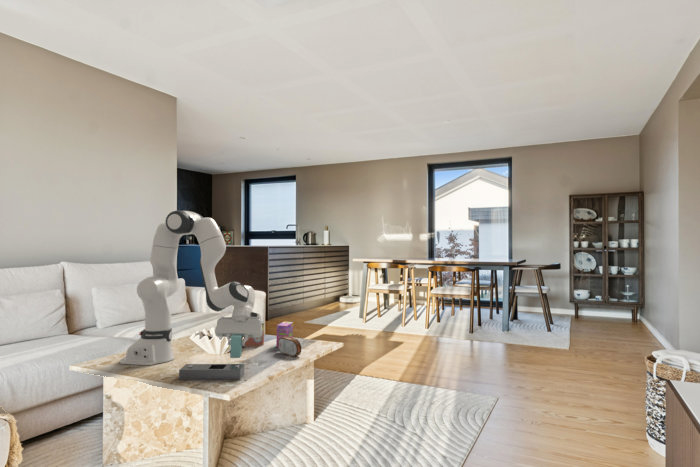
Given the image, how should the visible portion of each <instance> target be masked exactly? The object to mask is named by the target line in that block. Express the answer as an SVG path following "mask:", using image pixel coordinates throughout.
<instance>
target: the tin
mask: <svg viewBox="0 0 700 467" xmlns="http://www.w3.org/2000/svg"><path fill="white" fill-rule="evenodd" d="M278 347H279V348H278V349H279V351H280V353H281V354H283V355H286V356H289V357H297V356H300V355H301V353H302V345H301V342H300V341H299V339H297V338H294V337H293V338H291V337H287V336H284V337H281V338H280V339H279V341H278Z"/></svg>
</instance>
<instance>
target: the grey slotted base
mask: <svg viewBox="0 0 700 467" xmlns="http://www.w3.org/2000/svg"><path fill="white" fill-rule="evenodd" d="M178 370H179V371H178V372H179V373H178V380H179V381H240V380H242V378H243V376H244V375H245V363H185V364H184V365H183V366H182V367H181V368H179V369H178Z"/></svg>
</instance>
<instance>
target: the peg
mask: <svg viewBox="0 0 700 467" xmlns="http://www.w3.org/2000/svg"><path fill="white" fill-rule="evenodd" d="M230 340H231V345H230V348H229V349H230V355H229V358H230V359H240V358H241V357H242V353H243V352H242V351H243V350H242V349H243V346H241V340H243V337H242V335H232V336H231V339H230Z"/></svg>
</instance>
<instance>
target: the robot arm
mask: <svg viewBox="0 0 700 467" xmlns="http://www.w3.org/2000/svg"><path fill="white" fill-rule="evenodd" d="M154 233H155V234H154V237H153V240H152V241H153V242H152V245H151V246H152V247H151V252H150V259H149V262H150V265H151V266H152V276H149V277H146V278H144V279H143V280H141V281H140V282H139V283H138V285H137V286H136V293H137V296H138V297H139V299H140V300H141V303H142V306H143V310H144V329H143V330H141V331H140V332H139V333H138V334H139V336H140V338H138V339H137V340H136V341H135V342H134V343H132V344H130V345H129V346H128V348H127V350H126V354H125V356H124V357H123V358H121V359H120V361H119V364H120V365H121V364H122V365H136V366H137V365H138V366H152V365H153V366H154V365H157V364H162V363H166V362H170V361H172V360H174V359H175V356H174V352H173V345H172V339H173V328H172V311H171V309H170V308H169V305H168V301H167V298H169V297H171V296H173V295H174V294H175V293H176V292H178V289H179V286H180V283H179V280H178V278H177V267H176V266H177V257H178V250H179V245H180V244H179V243H180V240H181V238H182V237H183V236H192V235H194V236H195V238H196V239H197V242H198V245H199V248H200V260H199V269H200V272H201V277H202V282H203V286H204V291H205V299H206V300H205V301H206V305H207V307H208V308H209V309H210V310H212V311H214V312H217V313H218V312H221V311H223V310H225V309H226V308H228V307H230V306H232V307H233V309H232V315H231V316H230V317H229V316H227V317H226V316H225V317H224V316H221V317H220V318H218V319H217V321H216V326H215V329H214V334H215V336H216V337H219V338H226V339H227V346H231V336H232V335H242V338H243V337H245V338H244V340H243V339H242V340H241V346H242V347H244V345H245V342H246V341H247V340H248V338H249V337H251V338H260V337H261V336H262V324H261V321H262V317H261V314H260V313H257V312H254V311H253V309H254V307H255V303H256V302H255V301H256V293H255V290H254V288H253V287H252V286H250V285H247V284H244V285H243V284H242V283H240V282H239V281H231V282H228V283H226V284H224V285H223V286H220V287H219V286H218V282H217V279H216V273H215V272H216V271H215V269H216V266H217V264H218V263H219V261H220V260H222V258H223V257H224V255H225V253H226V250H227V245H226V241H225V239H224V238H225V237H224V235H223V233H222V231H221V229H220V227H219V225H218V223H217V222H216V220H215V219H213V218H212V217H203V216H202V215H201V214H199V213H198V212H195V211H190V210H179V209H177V210H173V211H171V212H170V213H168V215H166V217H165V222H162V223H160V224H159V225H158V226H157V228H156V230H155V232H154Z"/></svg>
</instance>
